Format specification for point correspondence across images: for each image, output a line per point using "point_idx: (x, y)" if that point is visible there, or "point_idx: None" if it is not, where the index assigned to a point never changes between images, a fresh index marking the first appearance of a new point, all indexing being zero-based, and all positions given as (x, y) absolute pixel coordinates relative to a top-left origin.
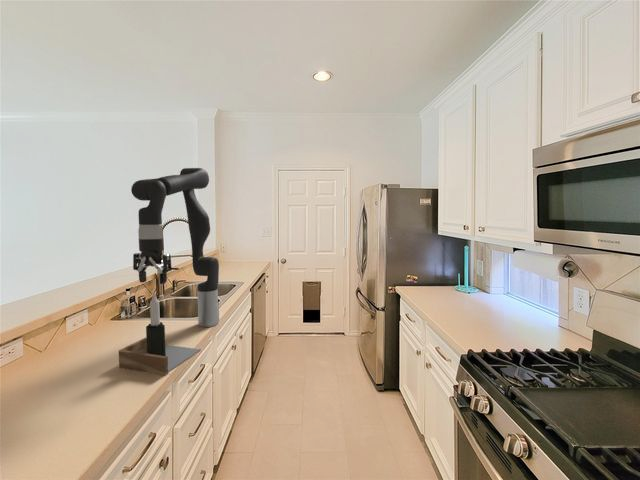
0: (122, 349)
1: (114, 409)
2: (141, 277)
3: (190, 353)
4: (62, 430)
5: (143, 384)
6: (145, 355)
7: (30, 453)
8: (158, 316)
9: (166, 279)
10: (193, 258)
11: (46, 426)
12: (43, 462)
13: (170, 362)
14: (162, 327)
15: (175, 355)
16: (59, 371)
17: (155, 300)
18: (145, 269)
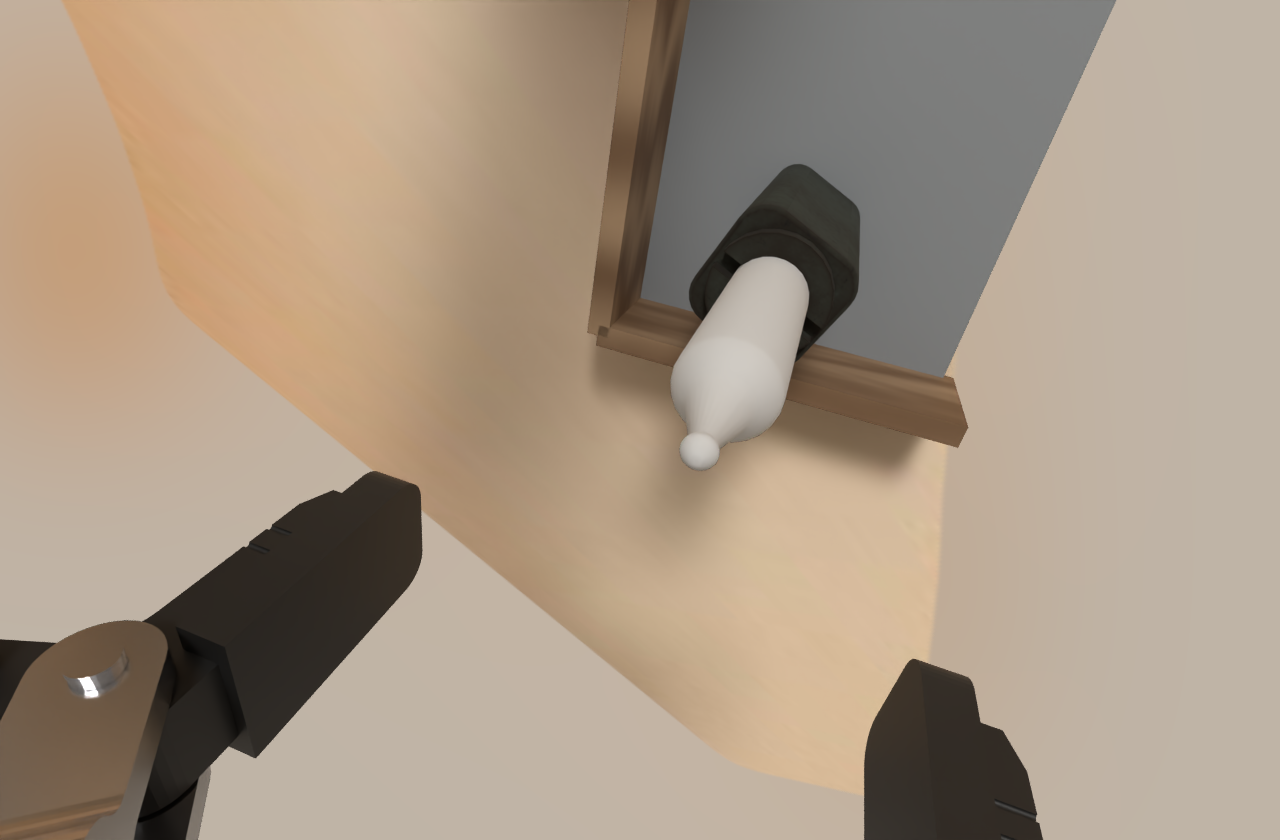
0: (600, 320)
1: (838, 609)
2: (349, 647)
3: (1030, 96)
4: (739, 670)
5: (860, 466)
6: (801, 402)
7: (730, 726)
8: (800, 335)
9: (1028, 802)
10: None
11: (676, 646)
12: (790, 757)
13: (915, 256)
14: (849, 304)
15: (908, 145)
16: (393, 340)
17: (749, 429)
18: (158, 707)
